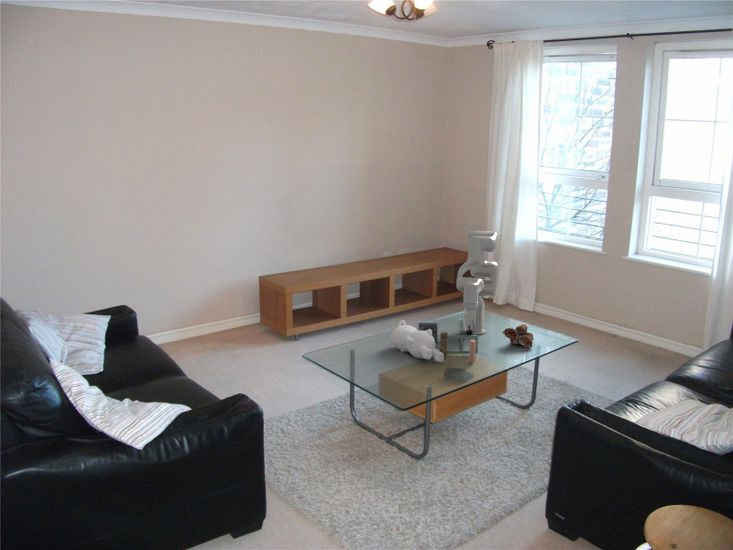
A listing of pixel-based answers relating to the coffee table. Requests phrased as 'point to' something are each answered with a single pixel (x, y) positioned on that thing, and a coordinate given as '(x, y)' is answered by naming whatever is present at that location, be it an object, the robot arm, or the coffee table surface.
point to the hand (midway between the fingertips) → (469, 337)
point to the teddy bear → (415, 342)
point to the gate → (462, 343)
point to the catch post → (472, 351)
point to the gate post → (443, 343)
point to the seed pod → (519, 335)
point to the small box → (429, 326)
